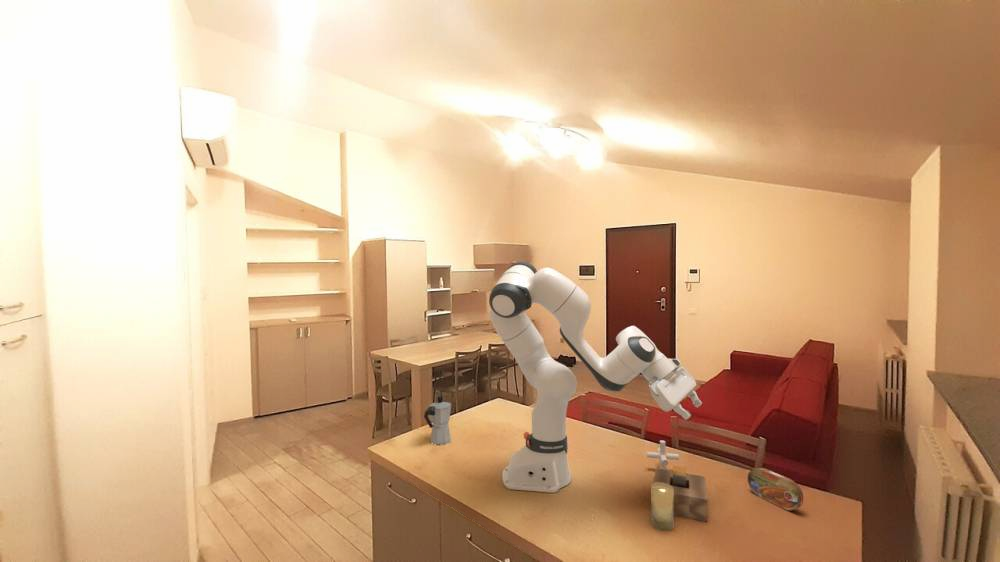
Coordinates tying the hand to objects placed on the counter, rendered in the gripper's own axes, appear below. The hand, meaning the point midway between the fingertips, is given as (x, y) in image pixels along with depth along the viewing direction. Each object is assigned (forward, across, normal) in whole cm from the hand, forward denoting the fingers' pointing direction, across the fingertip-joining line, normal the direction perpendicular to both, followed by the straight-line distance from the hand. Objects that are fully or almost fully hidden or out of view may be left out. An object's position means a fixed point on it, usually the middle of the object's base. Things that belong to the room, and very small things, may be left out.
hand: (694, 411), depth 123 cm
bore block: (+17, -5, +21) cm, 27 cm away
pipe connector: (+11, +11, +31) cm, 34 cm away
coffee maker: (-44, -23, +83) cm, 97 cm away
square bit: (+17, -5, +21) cm, 27 cm away
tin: (+33, +14, +8) cm, 37 cm away
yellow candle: (+16, -19, +20) cm, 31 cm away
